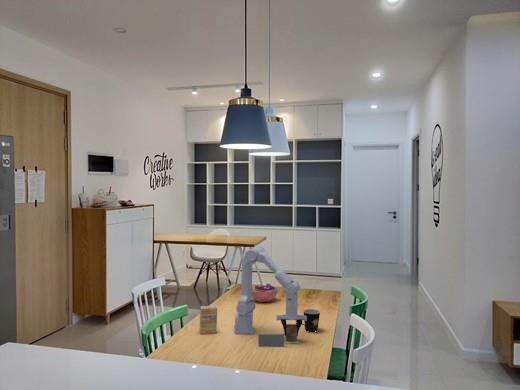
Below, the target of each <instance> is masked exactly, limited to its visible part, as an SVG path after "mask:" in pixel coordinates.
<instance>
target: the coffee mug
mask: <svg viewBox="0 0 520 390" xmlns="http://www.w3.org/2000/svg"><path fill="white" fill-rule="evenodd" d="M320 314H321V311H320V310H318V309H314V308H308V309H303V316H306V317H307V321H304V320H303V321H304V323H303V322H302V325H303V326H304V331H305V330H306V331H309V332H308V333H310V332H315V331H317V330H319V329H318V328H319V323H320ZM302 325H301V326H302ZM306 331H305V332H306ZM317 332H318V331H317ZM315 333H316V332H315Z"/></svg>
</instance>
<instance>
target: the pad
mask: <svg viewBox="0 0 520 390" xmlns="http://www.w3.org/2000/svg"><path fill="white" fill-rule="evenodd" d="M284 343H299V344H300V341H299V338H298V337H297V340H286V337H285V336H284Z"/></svg>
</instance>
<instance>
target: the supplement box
mask: <svg viewBox="0 0 520 390" xmlns="http://www.w3.org/2000/svg"><path fill="white" fill-rule="evenodd" d="M199 307H200V308H199V333H200V335H208V334H217V332H218V331H217V328H218V307H217V305H201V306H199Z"/></svg>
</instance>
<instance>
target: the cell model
mask: <svg viewBox="0 0 520 390" xmlns="http://www.w3.org/2000/svg"><path fill="white" fill-rule="evenodd" d="M279 290H280V289H279V288H278V287H275V286H272V285H271V284H270V283H266V284H265V285H255V286H252V296H253V297H254V301H256V302H259V303H265V302H266V303H268V302H271V301H272V300H274V299H275V297H276V296H277V295H278V292H279Z"/></svg>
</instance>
